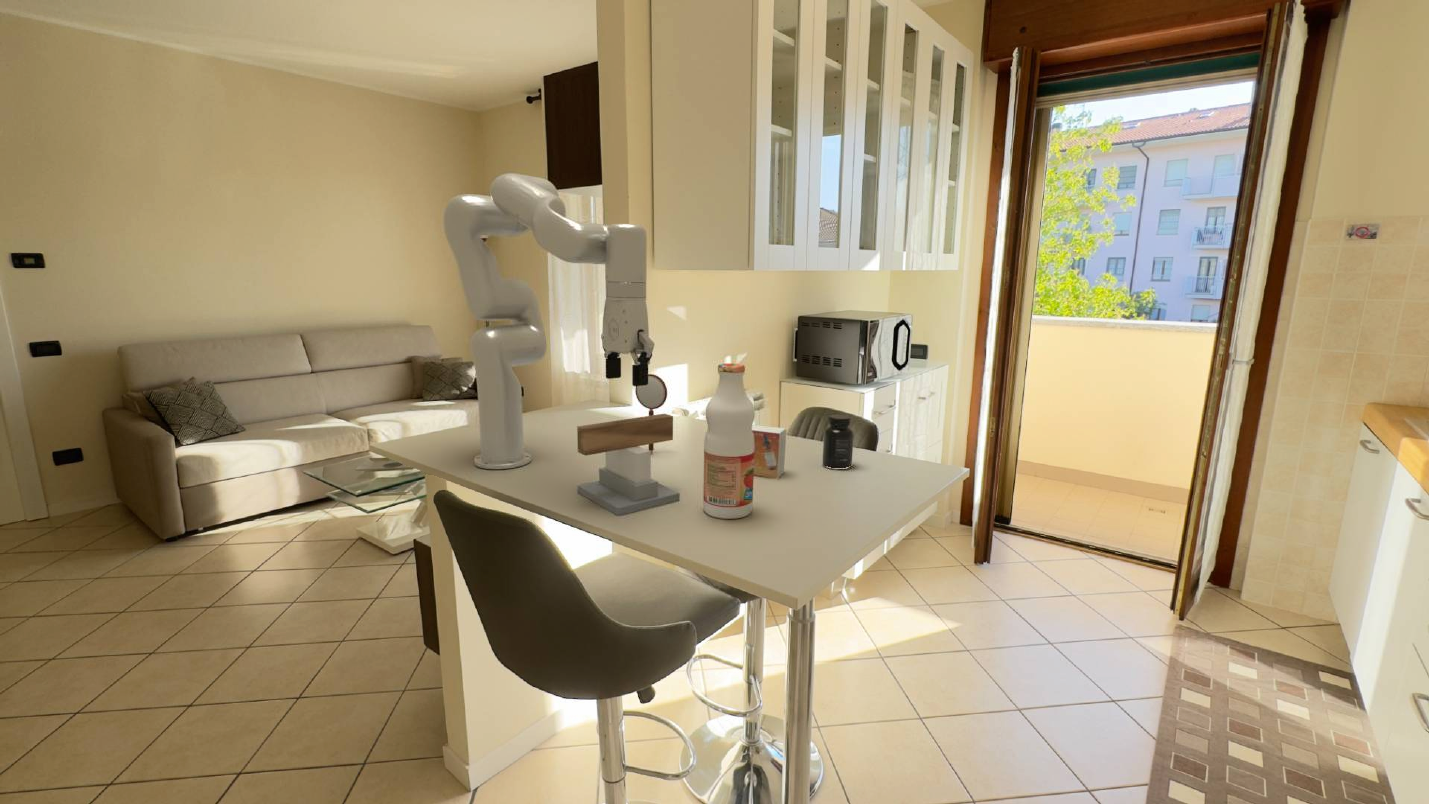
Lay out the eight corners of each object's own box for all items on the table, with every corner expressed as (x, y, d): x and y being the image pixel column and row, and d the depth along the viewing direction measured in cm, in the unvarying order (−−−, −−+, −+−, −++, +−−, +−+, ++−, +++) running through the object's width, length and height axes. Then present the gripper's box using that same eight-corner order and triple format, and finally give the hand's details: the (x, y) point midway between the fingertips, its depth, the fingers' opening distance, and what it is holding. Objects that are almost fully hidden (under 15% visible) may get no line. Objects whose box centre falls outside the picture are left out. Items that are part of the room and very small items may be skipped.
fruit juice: (698, 503, 126) (700, 361, 120) (744, 501, 128) (749, 361, 123) (708, 521, 117) (711, 369, 112) (758, 518, 119) (763, 368, 114)
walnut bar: (577, 452, 122) (577, 426, 121) (664, 436, 135) (664, 413, 134) (585, 455, 120) (584, 429, 119) (672, 439, 132) (673, 416, 131)
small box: (743, 474, 145) (744, 429, 143) (751, 467, 150) (753, 423, 148) (777, 479, 142) (779, 433, 140) (784, 472, 147) (786, 427, 145)
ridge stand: (577, 492, 131) (576, 442, 129) (635, 479, 140) (635, 432, 138) (618, 515, 119) (617, 461, 117) (679, 500, 128) (680, 449, 126)
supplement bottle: (855, 465, 154) (859, 416, 151) (845, 472, 148) (848, 421, 146) (828, 460, 157) (831, 412, 155) (817, 467, 152) (820, 417, 149)
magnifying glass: (668, 455, 159) (668, 375, 155) (664, 457, 157) (665, 376, 153) (637, 450, 162) (637, 372, 158) (634, 452, 161) (634, 373, 157)
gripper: (586, 290, 126) (587, 377, 129) (634, 294, 112) (634, 390, 116) (619, 290, 130) (619, 374, 134) (669, 294, 117) (668, 386, 121)
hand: (626, 381), depth 125 cm, fingers open, 9 cm apart
